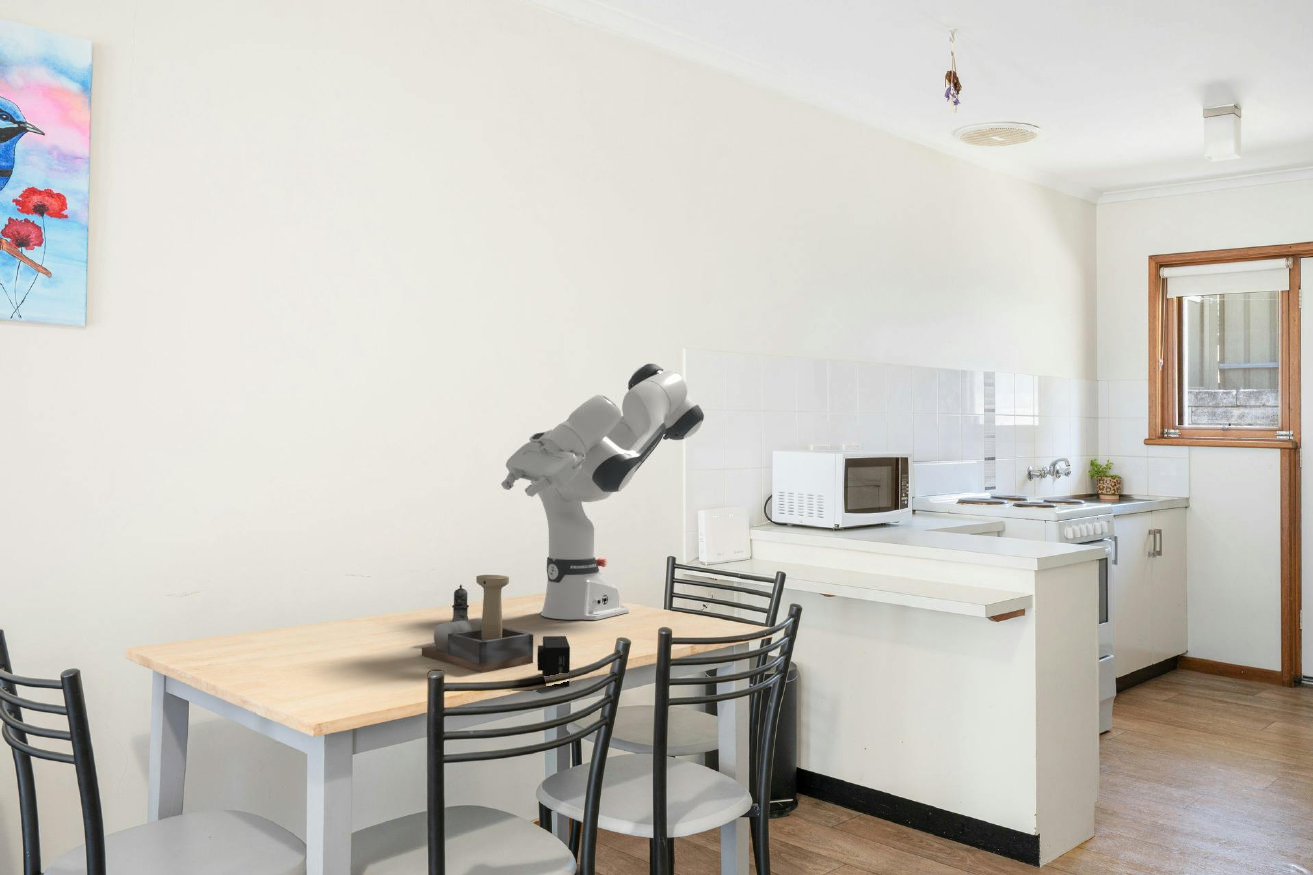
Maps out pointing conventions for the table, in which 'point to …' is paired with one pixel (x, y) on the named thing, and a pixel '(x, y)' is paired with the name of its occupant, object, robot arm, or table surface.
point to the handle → (492, 605)
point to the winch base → (479, 646)
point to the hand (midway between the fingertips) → (515, 490)
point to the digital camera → (554, 657)
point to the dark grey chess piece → (460, 605)
